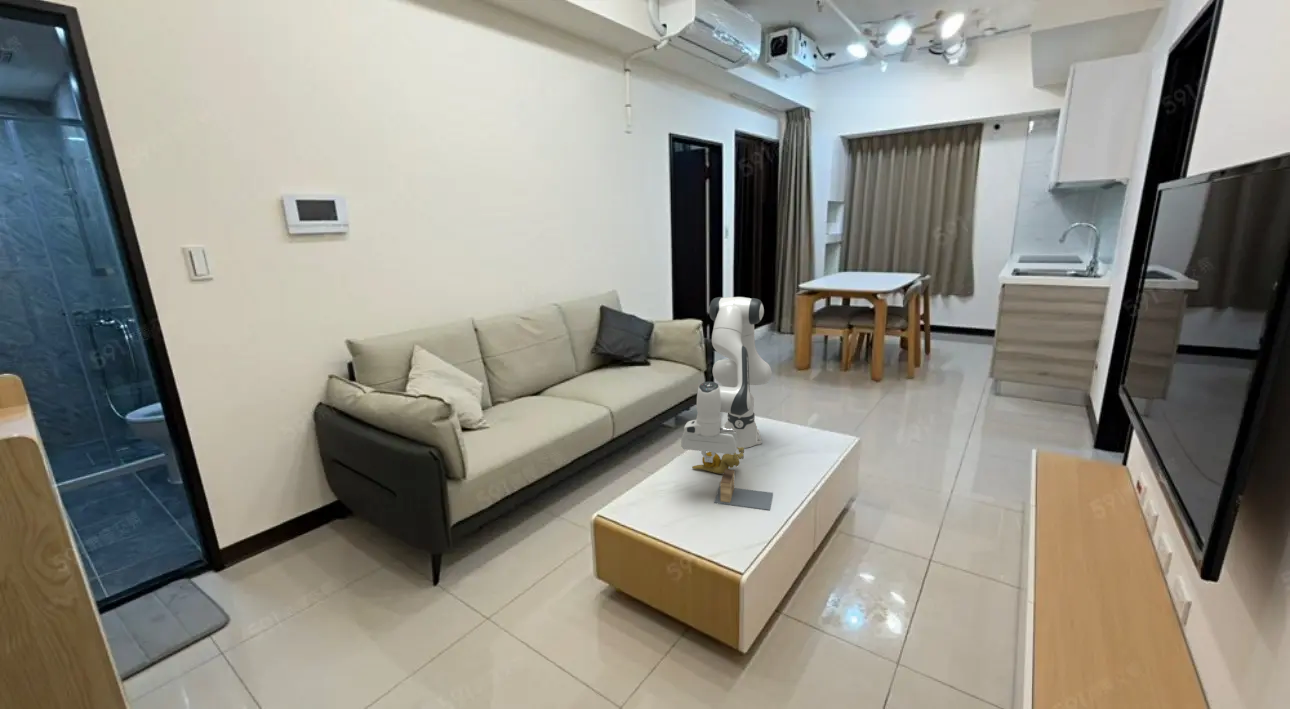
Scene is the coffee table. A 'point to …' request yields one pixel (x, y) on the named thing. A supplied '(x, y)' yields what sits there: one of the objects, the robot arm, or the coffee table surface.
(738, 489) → the mat
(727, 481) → the slab
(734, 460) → the toy
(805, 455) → the coffee table surface
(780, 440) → the coffee table surface
